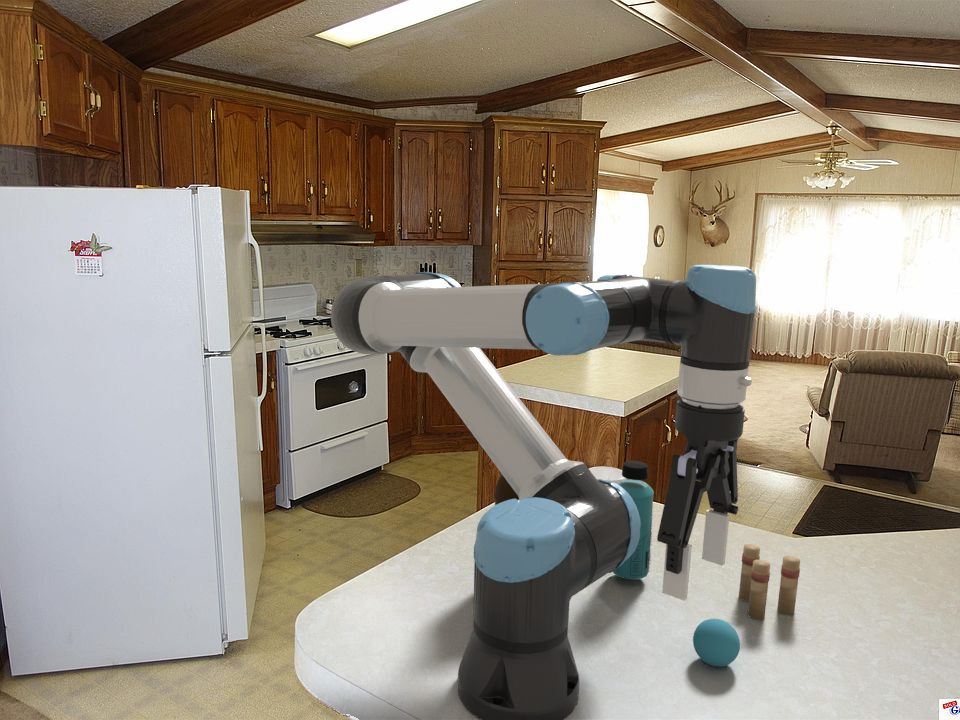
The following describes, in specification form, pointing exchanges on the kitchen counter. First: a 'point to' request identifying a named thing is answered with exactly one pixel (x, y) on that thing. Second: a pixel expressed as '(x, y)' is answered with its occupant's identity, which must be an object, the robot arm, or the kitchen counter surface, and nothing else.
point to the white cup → (608, 474)
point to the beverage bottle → (643, 500)
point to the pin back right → (788, 585)
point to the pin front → (758, 589)
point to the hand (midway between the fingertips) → (694, 577)
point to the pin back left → (747, 569)
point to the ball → (716, 642)
